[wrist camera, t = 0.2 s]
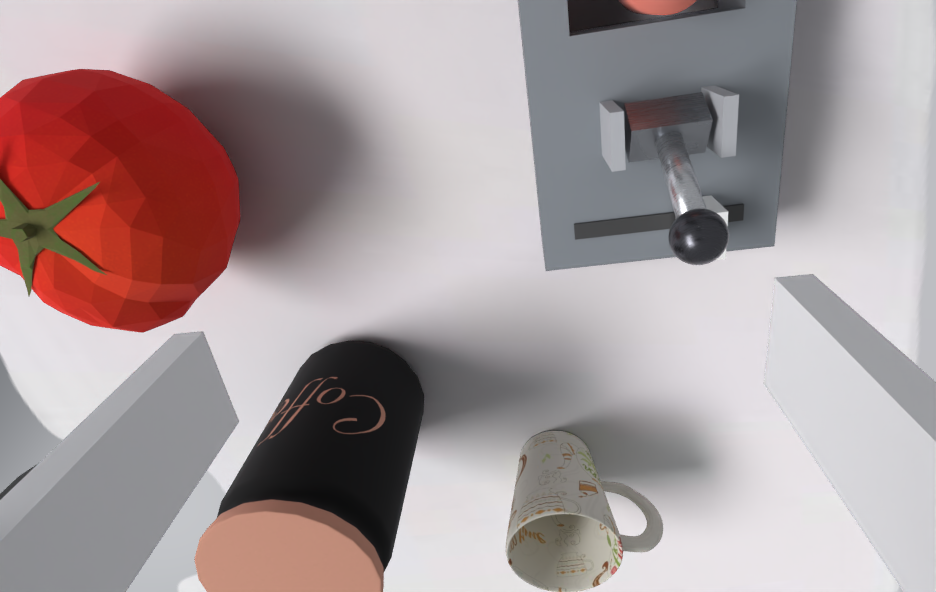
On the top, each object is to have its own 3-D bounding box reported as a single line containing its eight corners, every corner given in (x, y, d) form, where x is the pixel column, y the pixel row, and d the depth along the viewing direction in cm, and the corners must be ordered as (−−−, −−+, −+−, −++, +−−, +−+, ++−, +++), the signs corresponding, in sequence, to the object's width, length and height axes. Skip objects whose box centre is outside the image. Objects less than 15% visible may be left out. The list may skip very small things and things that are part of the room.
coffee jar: (418, 330, 45) (365, 510, 29) (433, 436, 50) (395, 641, 34) (287, 336, 46) (167, 512, 30) (315, 439, 51) (223, 638, 35)
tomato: (46, 66, 38) (-177, 93, 25) (246, 53, 36) (112, 76, 24) (124, 279, 45) (-21, 382, 32) (294, 275, 43) (209, 380, 31)
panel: (495, -220, 29) (490, -297, 22) (781, -284, 28) (879, -390, 20) (542, 245, 41) (549, 297, 33) (747, 221, 39) (802, 271, 32)
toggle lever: (624, 100, 30) (662, 246, 25) (702, 88, 30) (759, 235, 24) (621, 137, 32) (656, 280, 27) (694, 128, 32) (745, 271, 26)
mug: (516, 411, 48) (517, 504, 39) (664, 435, 48) (698, 533, 39) (499, 483, 51) (496, 583, 43) (636, 505, 52) (662, 609, 43)
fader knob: (675, 199, 34) (690, 215, 31) (711, 195, 33) (728, 211, 31) (675, 243, 35) (688, 262, 32) (709, 239, 35) (725, 258, 32)
